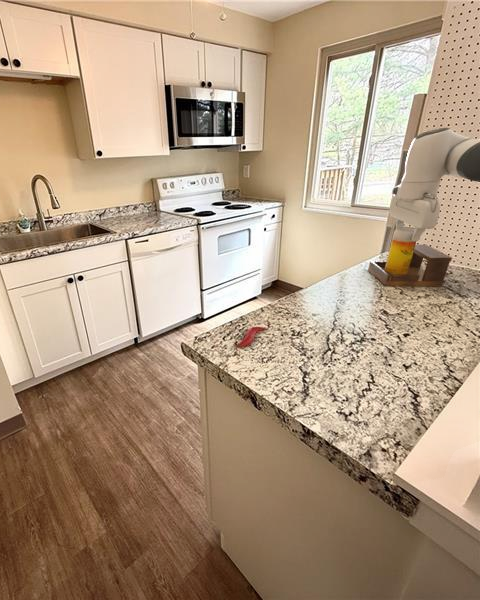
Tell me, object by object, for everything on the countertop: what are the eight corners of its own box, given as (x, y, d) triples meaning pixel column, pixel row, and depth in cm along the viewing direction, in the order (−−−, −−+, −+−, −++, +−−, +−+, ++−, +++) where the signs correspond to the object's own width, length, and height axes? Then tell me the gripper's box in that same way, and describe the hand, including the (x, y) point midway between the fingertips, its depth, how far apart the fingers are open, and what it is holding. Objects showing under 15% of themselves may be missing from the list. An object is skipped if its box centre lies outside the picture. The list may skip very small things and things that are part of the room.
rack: (418, 270, 107) (425, 244, 104) (442, 286, 95) (452, 257, 91) (367, 270, 111) (373, 245, 107) (385, 285, 99) (392, 258, 95)
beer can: (405, 278, 99) (418, 231, 93) (382, 274, 103) (393, 230, 97) (407, 272, 103) (420, 227, 97) (385, 269, 107) (396, 226, 101)
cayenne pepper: (258, 326, 84) (259, 320, 83) (273, 333, 81) (273, 326, 80) (226, 341, 79) (226, 335, 78) (240, 349, 75) (240, 343, 75)
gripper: (453, 194, 82) (438, 245, 88) (412, 186, 100) (402, 228, 106) (424, 196, 84) (411, 246, 90) (390, 188, 102) (381, 229, 107)
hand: (406, 236), depth 98 cm, fingers open, 8 cm apart
